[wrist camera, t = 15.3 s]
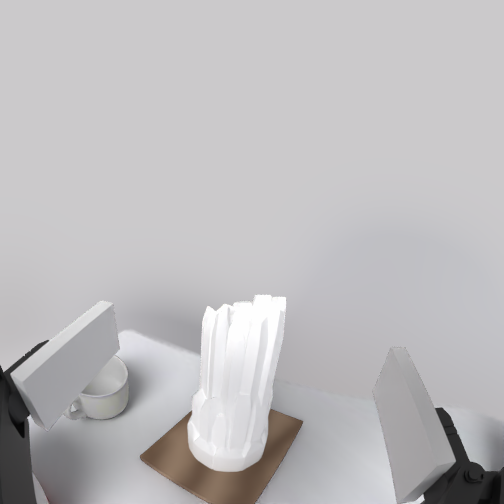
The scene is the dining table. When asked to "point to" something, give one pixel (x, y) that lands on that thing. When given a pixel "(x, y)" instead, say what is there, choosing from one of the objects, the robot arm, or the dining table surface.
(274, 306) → the decorative vase
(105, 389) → the teacup
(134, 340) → the dining table surface
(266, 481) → the board
